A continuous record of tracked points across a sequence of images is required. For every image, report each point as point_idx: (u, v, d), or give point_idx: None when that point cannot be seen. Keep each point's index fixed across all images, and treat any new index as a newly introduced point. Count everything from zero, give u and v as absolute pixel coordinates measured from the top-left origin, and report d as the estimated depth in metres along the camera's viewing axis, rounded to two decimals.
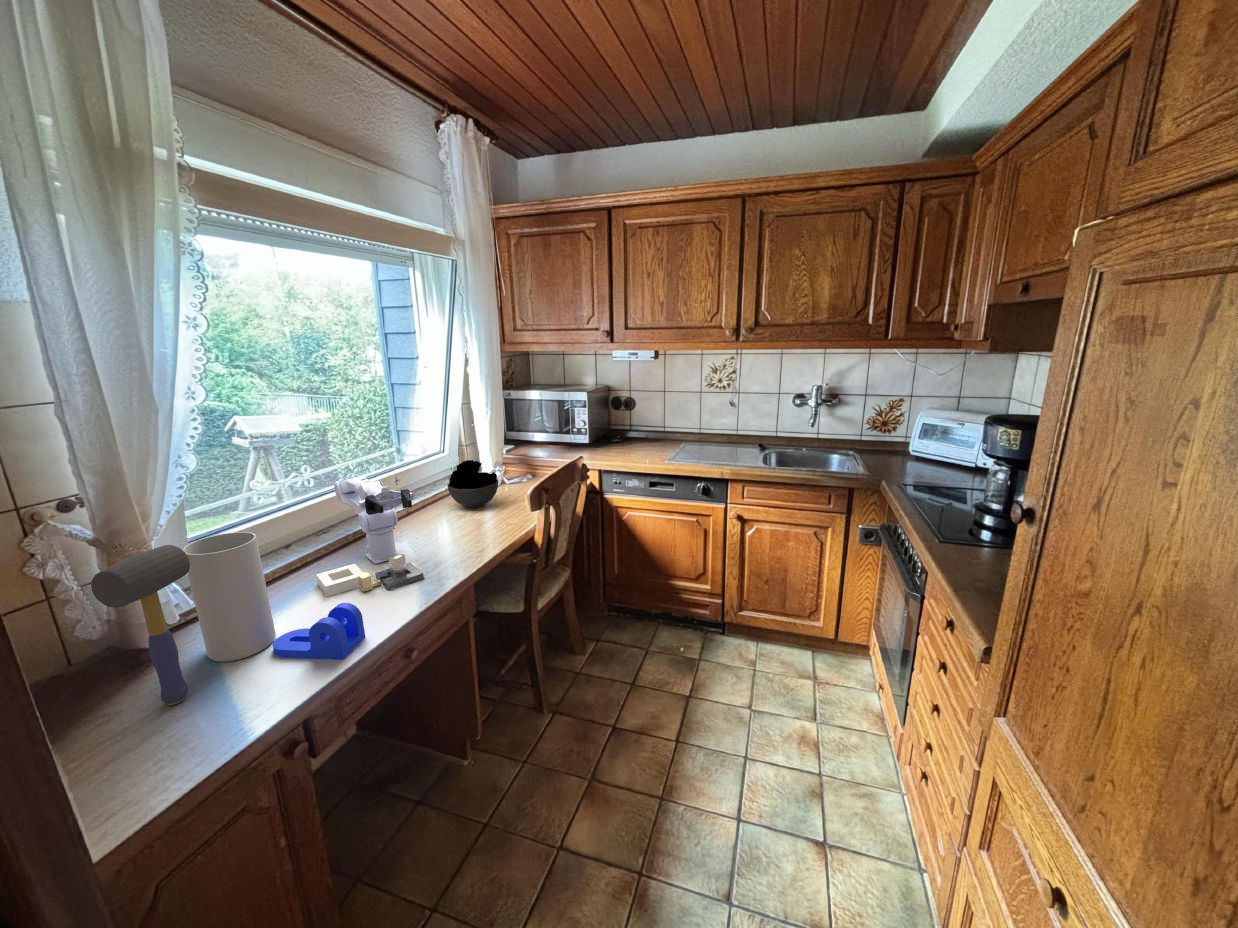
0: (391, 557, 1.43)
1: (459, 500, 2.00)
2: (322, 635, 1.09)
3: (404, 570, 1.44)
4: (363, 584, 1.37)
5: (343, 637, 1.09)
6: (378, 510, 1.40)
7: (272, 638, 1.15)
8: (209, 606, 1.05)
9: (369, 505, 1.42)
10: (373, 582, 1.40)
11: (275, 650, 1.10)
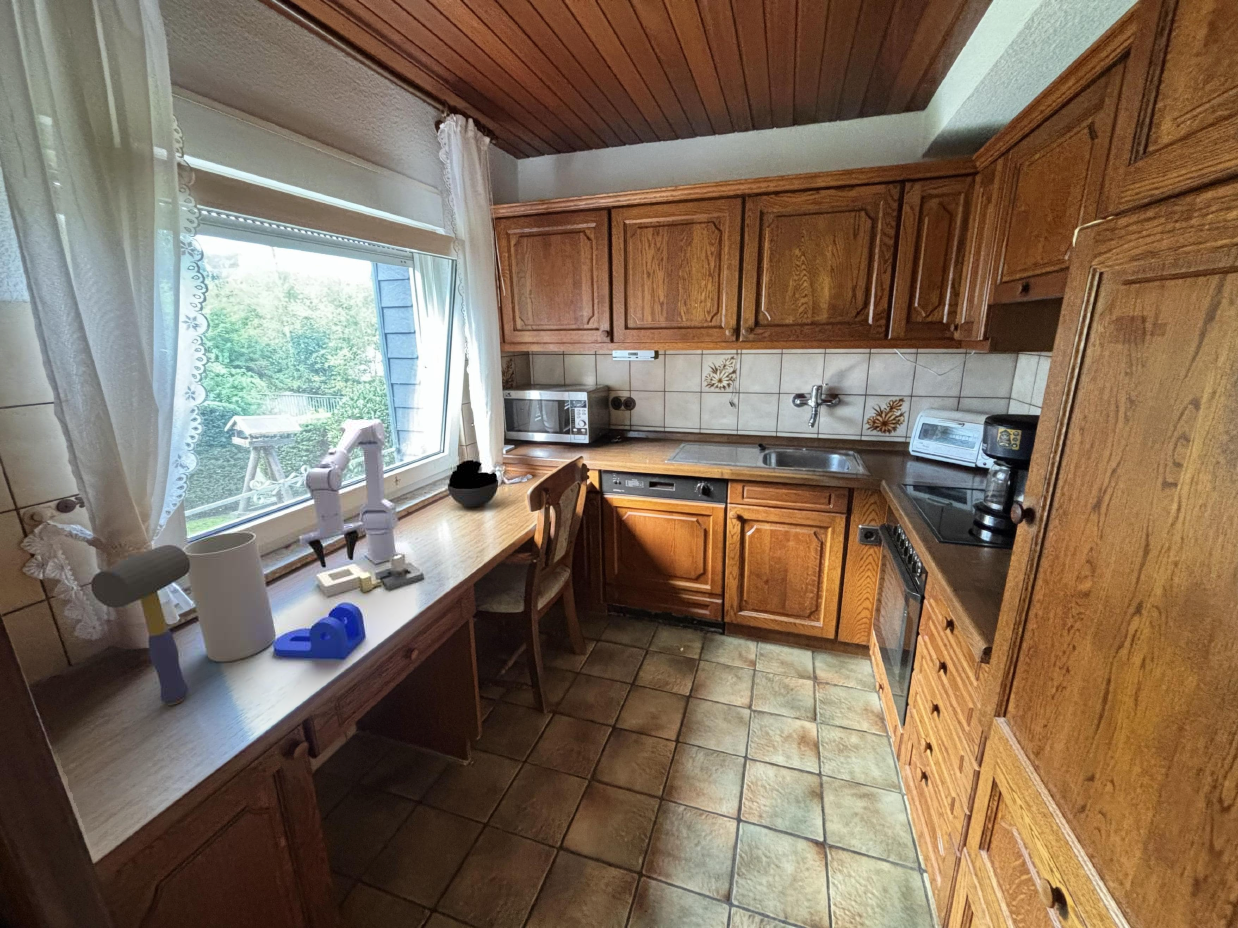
0: (391, 557, 1.43)
1: (459, 500, 2.00)
2: (323, 635, 1.09)
3: (404, 570, 1.44)
4: (363, 584, 1.37)
5: (344, 637, 1.09)
6: (319, 560, 1.31)
7: (272, 638, 1.15)
8: (209, 606, 1.05)
9: None
10: (373, 582, 1.40)
11: (275, 650, 1.10)
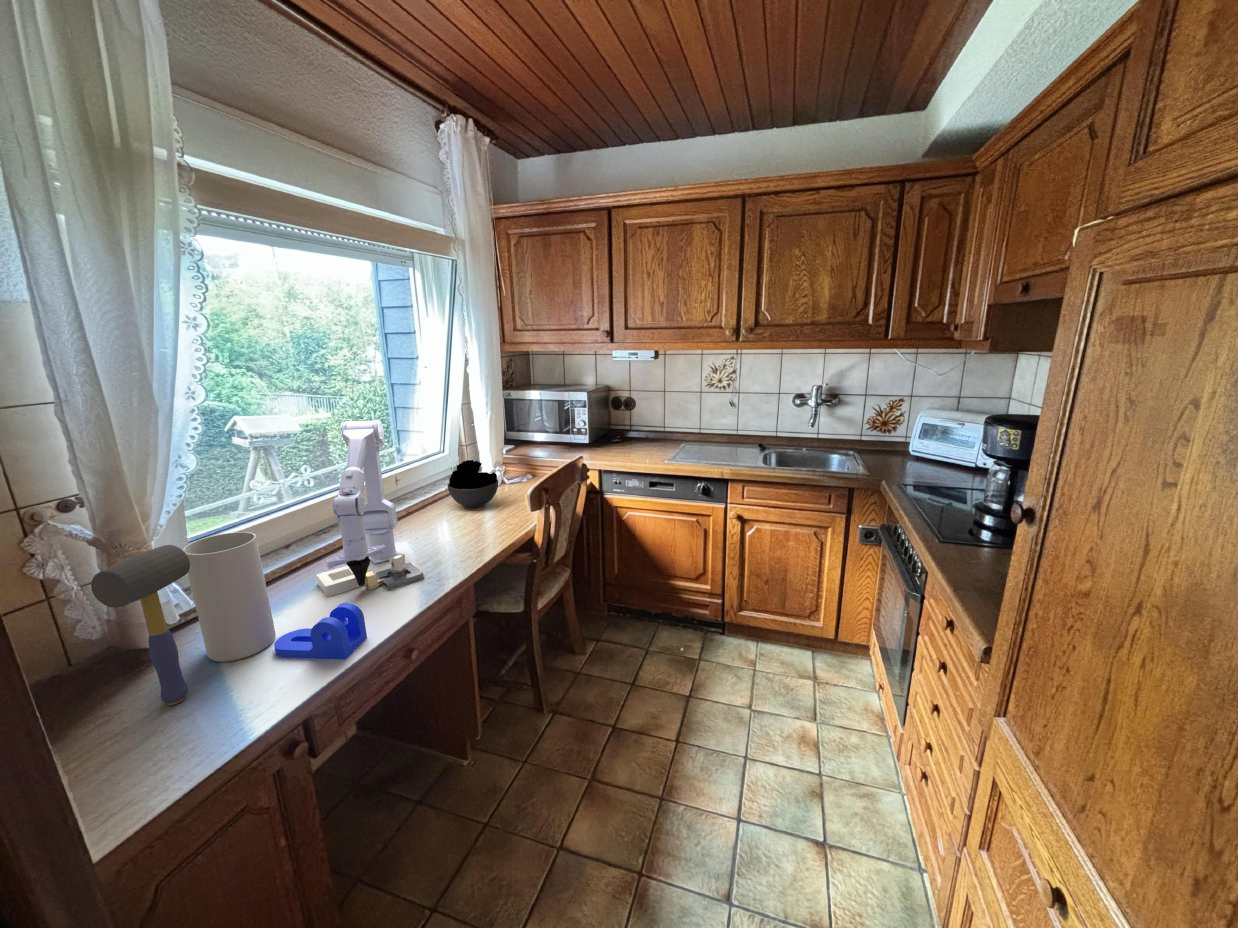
0: (391, 557, 1.43)
1: (459, 500, 2.00)
2: (324, 635, 1.09)
3: (404, 570, 1.44)
4: (368, 582, 1.38)
5: (345, 637, 1.09)
6: (356, 578, 1.38)
7: (272, 638, 1.15)
8: (209, 606, 1.05)
9: None
10: (378, 580, 1.41)
11: (277, 650, 1.10)
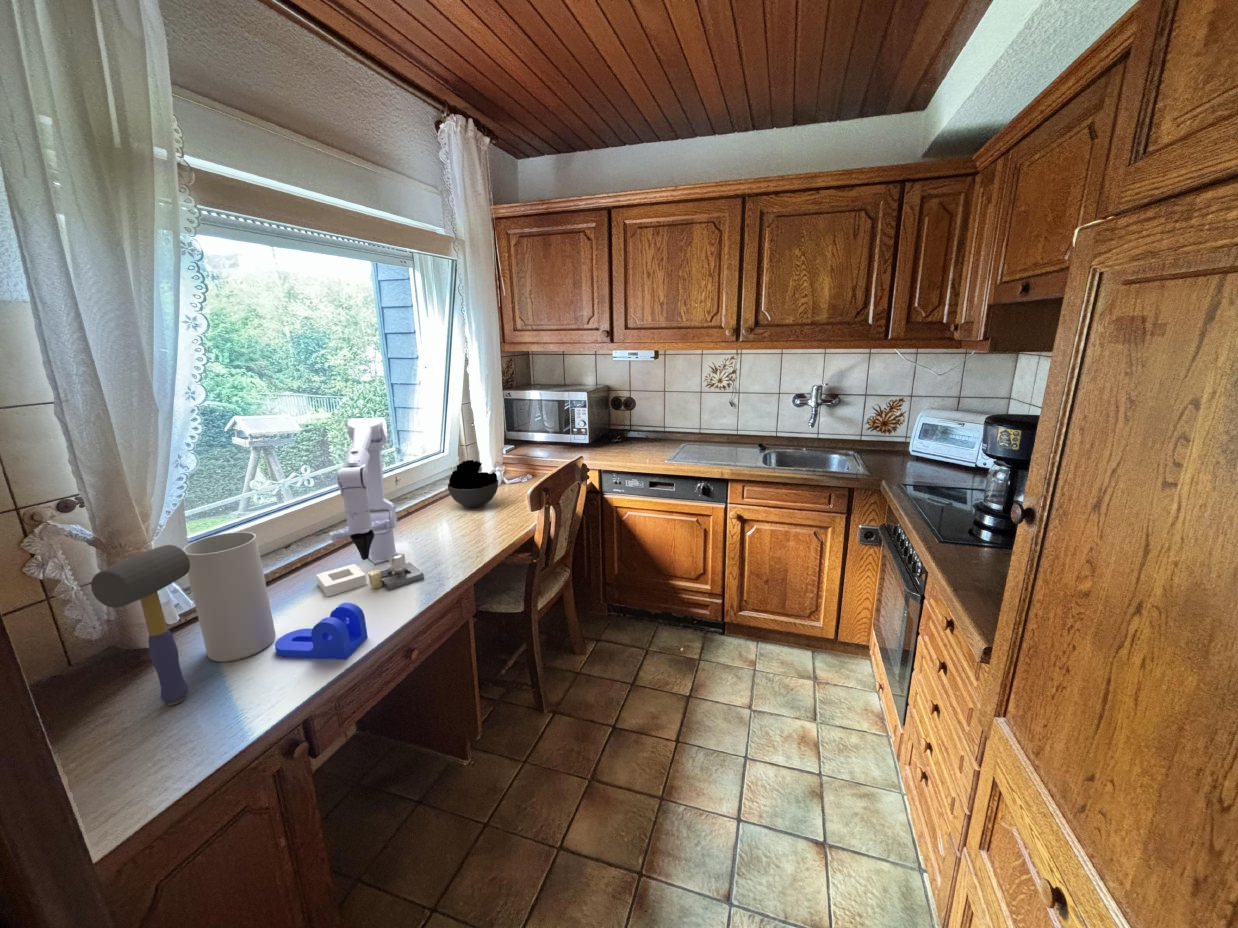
0: (391, 557, 1.43)
1: (459, 500, 2.00)
2: (325, 635, 1.09)
3: (404, 570, 1.44)
4: (373, 581, 1.39)
5: (346, 637, 1.09)
6: (360, 552, 1.37)
7: (272, 638, 1.15)
8: (209, 606, 1.05)
9: None
10: None
11: (277, 650, 1.10)
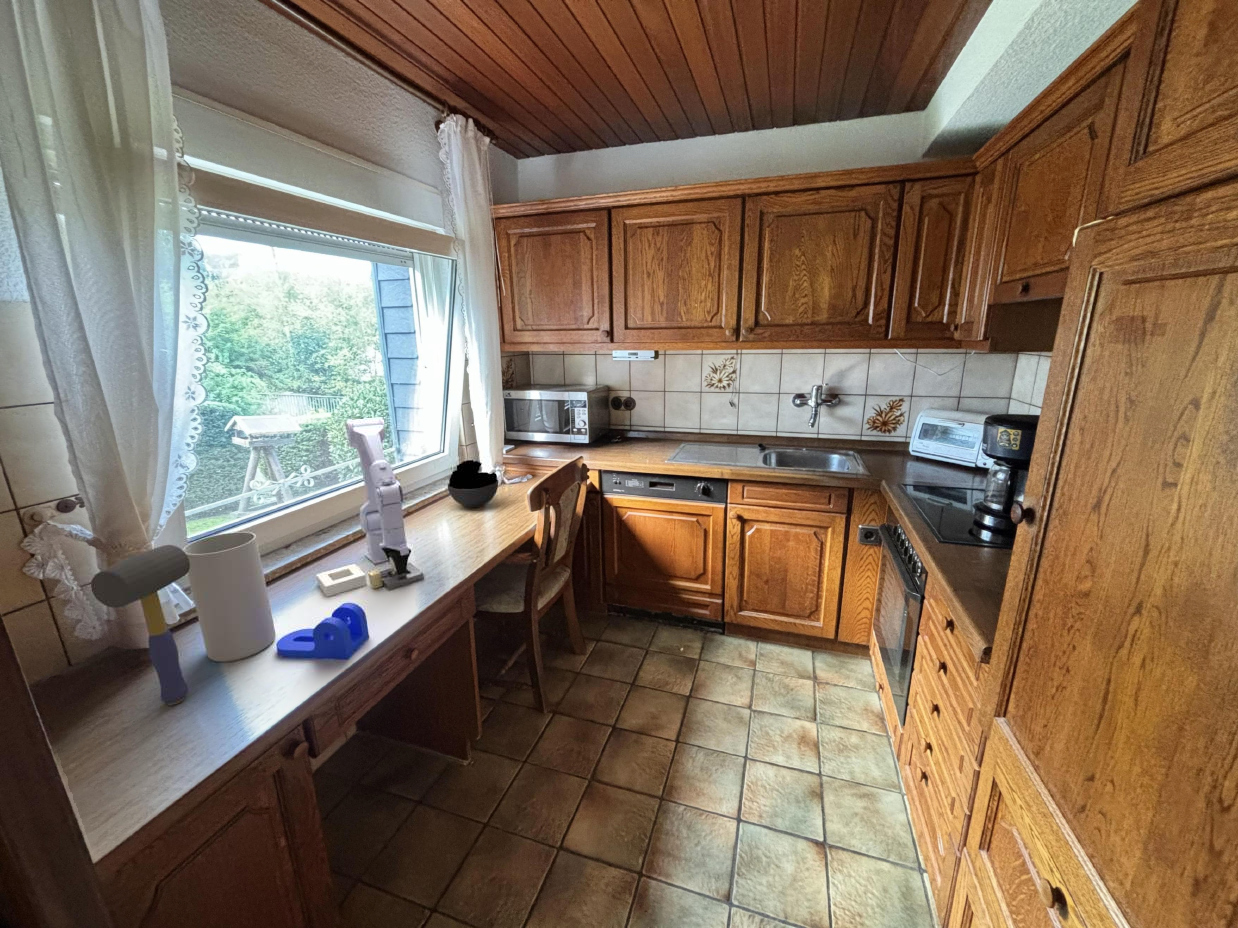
0: None
1: (459, 500, 2.00)
2: (326, 635, 1.08)
3: None
4: (373, 581, 1.39)
5: (347, 637, 1.09)
6: None
7: (272, 638, 1.15)
8: (209, 606, 1.05)
9: None
10: None
11: (279, 650, 1.10)
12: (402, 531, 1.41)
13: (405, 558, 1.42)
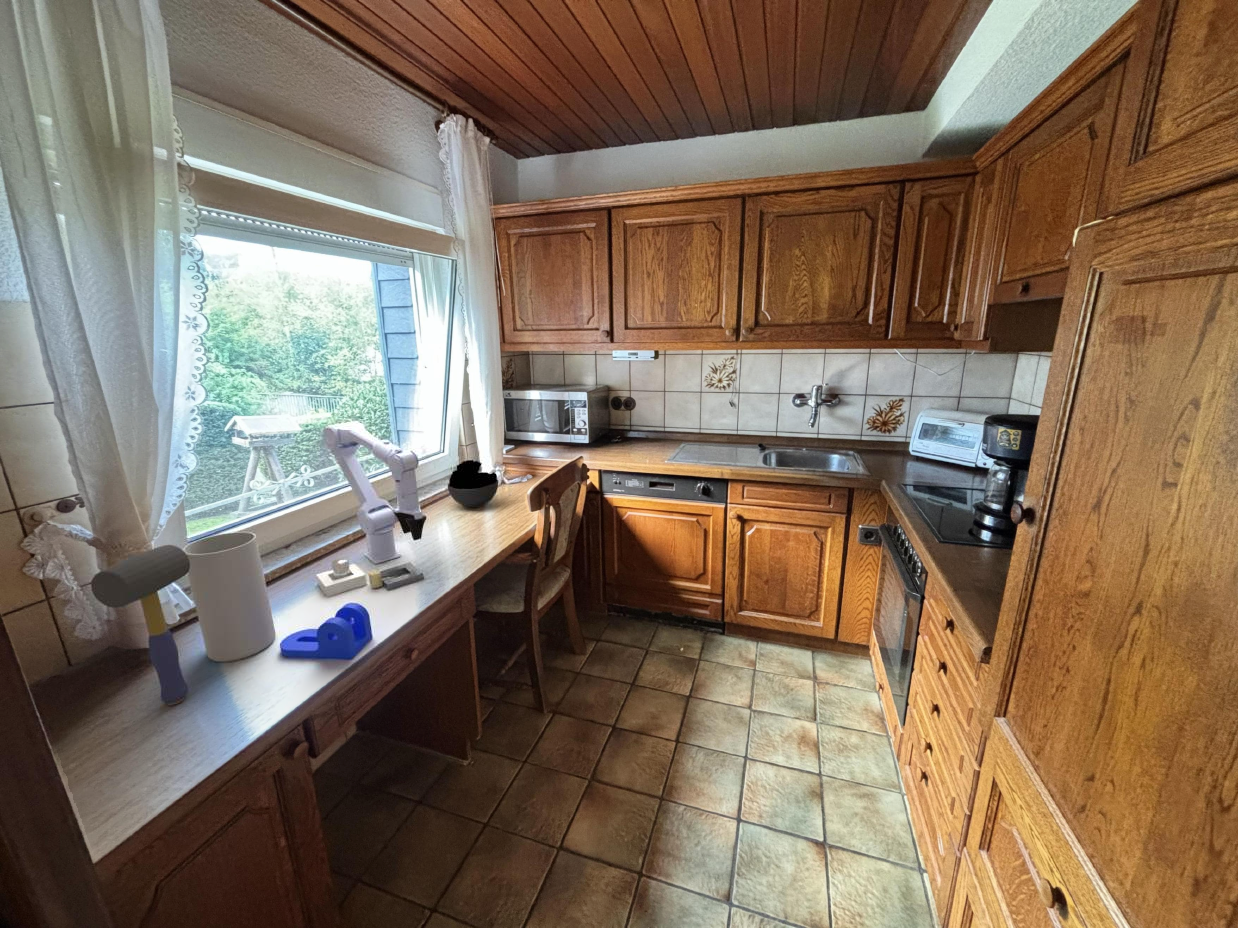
0: (334, 562, 1.41)
1: (459, 500, 2.00)
2: (330, 635, 1.08)
3: (346, 576, 1.41)
4: (373, 581, 1.39)
5: (351, 637, 1.08)
6: None
7: (272, 638, 1.15)
8: (209, 606, 1.05)
9: None
10: None
11: (282, 650, 1.10)
12: (416, 497, 1.49)
13: (420, 524, 1.48)
